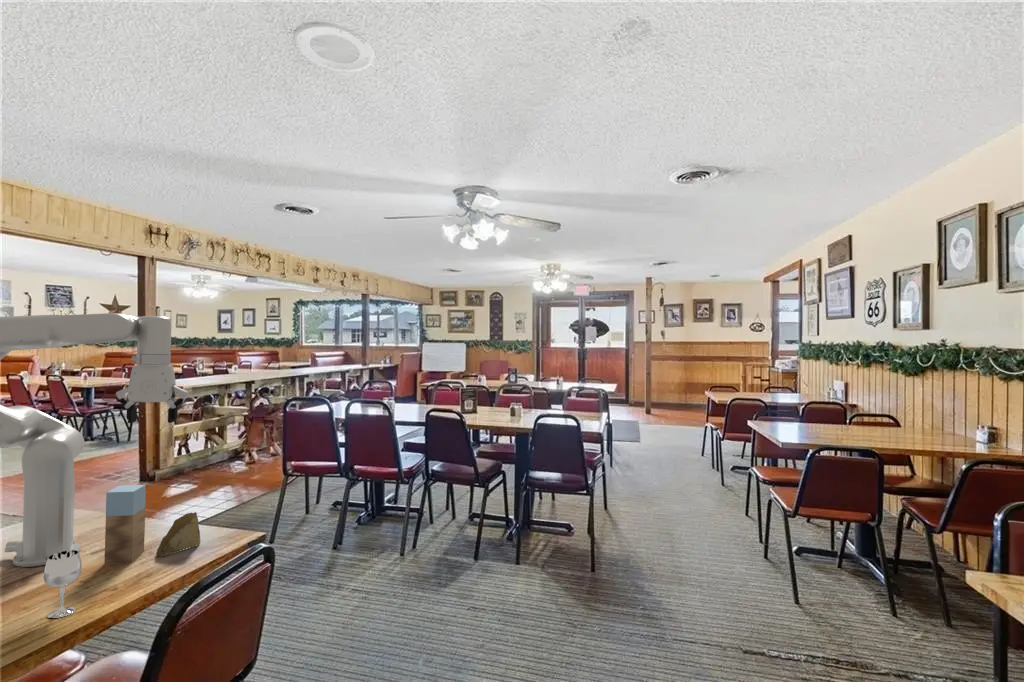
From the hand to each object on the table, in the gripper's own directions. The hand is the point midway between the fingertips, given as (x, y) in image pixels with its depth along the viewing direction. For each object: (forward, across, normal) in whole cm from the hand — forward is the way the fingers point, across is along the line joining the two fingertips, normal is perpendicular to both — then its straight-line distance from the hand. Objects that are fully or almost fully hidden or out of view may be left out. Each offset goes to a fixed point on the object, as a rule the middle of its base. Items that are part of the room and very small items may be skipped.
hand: (152, 422), depth 136 cm
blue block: (+21, -1, -10) cm, 24 cm away
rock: (+34, +10, -6) cm, 36 cm away
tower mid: (+27, -1, -10) cm, 29 cm away
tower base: (+33, -1, -10) cm, 35 cm away
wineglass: (+34, 0, -36) cm, 49 cm away
